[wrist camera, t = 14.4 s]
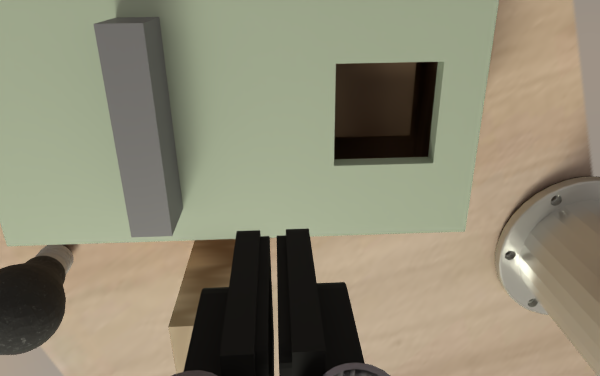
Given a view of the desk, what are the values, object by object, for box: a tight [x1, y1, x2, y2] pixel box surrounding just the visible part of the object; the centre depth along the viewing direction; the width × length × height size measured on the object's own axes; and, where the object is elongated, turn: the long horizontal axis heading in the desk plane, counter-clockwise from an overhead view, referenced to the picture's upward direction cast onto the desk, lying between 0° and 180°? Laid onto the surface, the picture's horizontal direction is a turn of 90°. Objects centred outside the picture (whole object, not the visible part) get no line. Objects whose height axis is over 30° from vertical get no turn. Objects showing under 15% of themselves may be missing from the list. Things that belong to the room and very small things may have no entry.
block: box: [168, 239, 235, 374], centre depth 33 cm, size 4×4×12 cm
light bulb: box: [0, 245, 73, 355], centre depth 33 cm, size 6×6×10 cm
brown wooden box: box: [334, 62, 438, 159], centre depth 29 cm, size 26×14×8 cm, turn 91°
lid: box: [0, 0, 499, 246], centre depth 24 cm, size 26×14×4 cm, turn 91°
